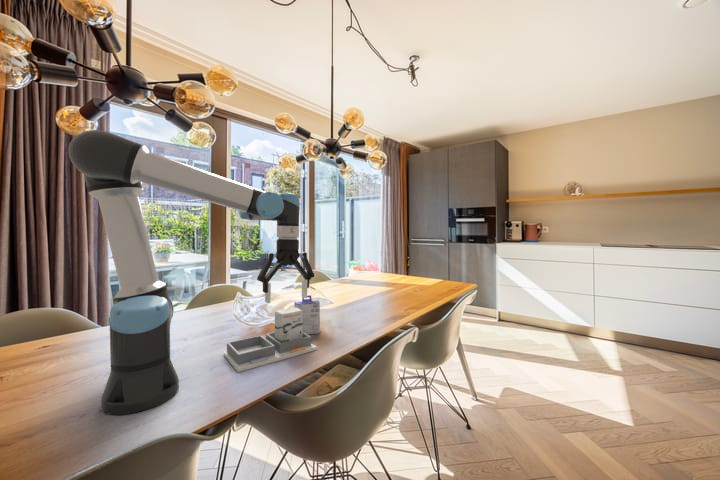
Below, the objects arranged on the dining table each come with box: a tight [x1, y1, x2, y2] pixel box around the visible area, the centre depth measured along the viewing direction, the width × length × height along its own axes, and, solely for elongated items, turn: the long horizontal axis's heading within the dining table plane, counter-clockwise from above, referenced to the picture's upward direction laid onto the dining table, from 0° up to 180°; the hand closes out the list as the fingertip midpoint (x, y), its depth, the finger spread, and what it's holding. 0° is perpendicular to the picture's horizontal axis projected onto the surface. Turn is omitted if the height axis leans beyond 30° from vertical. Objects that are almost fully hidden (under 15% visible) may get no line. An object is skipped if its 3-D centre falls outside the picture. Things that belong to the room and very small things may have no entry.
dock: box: [223, 331, 318, 373], centre depth 99 cm, size 26×15×4 cm, turn 129°
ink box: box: [274, 307, 303, 343], centre depth 104 cm, size 9×5×12 cm, turn 133°
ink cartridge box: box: [294, 295, 321, 335], centre depth 119 cm, size 10×6×14 cm, turn 106°
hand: (286, 299), depth 103 cm, fingers open, 13 cm apart
